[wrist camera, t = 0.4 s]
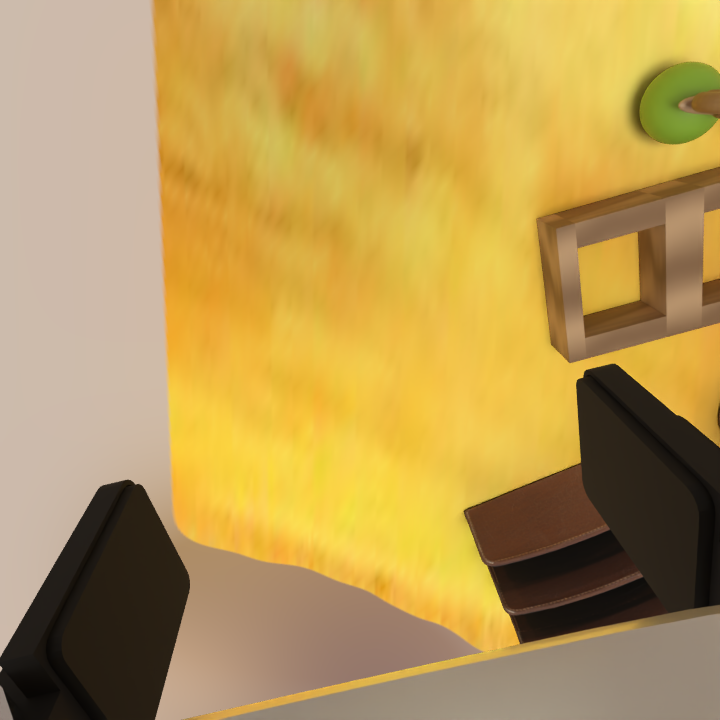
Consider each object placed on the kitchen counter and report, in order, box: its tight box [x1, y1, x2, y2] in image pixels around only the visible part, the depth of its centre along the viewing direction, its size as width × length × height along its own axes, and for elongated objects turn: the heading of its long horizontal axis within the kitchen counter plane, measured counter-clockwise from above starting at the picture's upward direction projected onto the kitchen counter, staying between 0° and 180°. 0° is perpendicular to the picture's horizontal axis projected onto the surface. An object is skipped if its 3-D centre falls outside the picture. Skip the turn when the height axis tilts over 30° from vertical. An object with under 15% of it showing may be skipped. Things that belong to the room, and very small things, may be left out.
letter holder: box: [464, 464, 669, 644], centre depth 52 cm, size 10×20×14 cm, turn 115°
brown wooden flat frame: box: [537, 167, 720, 363], centre depth 45 cm, size 12×20×4 cm, turn 105°
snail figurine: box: [640, 62, 720, 144], centre depth 36 cm, size 5×6×12 cm
